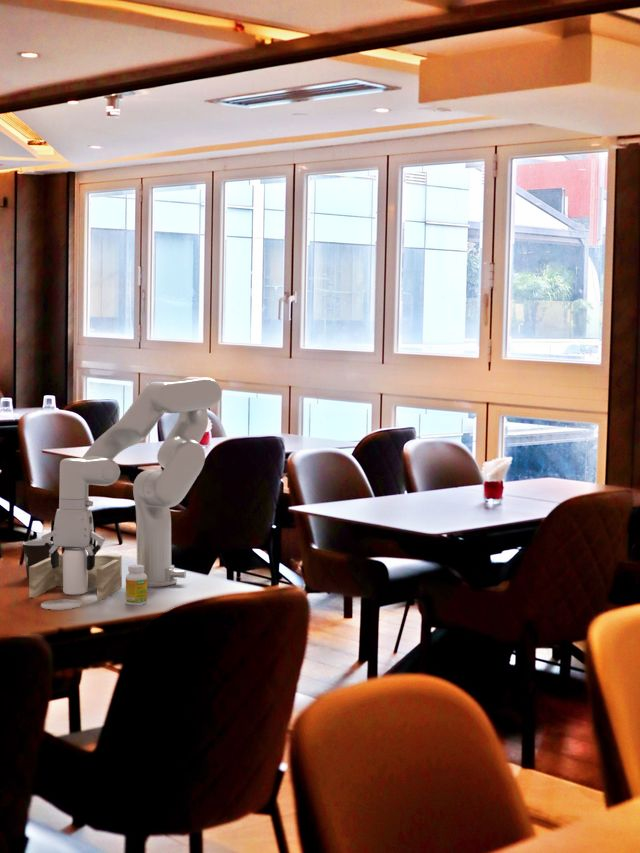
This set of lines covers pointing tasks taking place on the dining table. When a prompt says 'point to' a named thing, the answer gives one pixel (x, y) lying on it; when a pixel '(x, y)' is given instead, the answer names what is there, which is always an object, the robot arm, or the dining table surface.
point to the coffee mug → (35, 553)
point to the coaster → (60, 604)
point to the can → (75, 571)
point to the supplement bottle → (136, 585)
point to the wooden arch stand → (101, 576)
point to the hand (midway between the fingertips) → (72, 568)
